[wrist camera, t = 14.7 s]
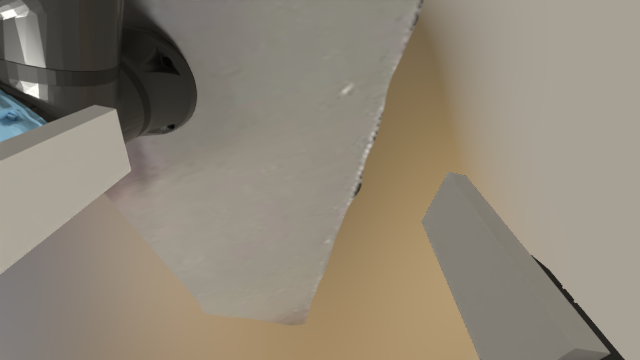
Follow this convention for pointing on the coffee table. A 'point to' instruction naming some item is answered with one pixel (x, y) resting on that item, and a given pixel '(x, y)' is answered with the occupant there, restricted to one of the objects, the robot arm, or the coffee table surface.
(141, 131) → the robot arm
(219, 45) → the coffee table surface
